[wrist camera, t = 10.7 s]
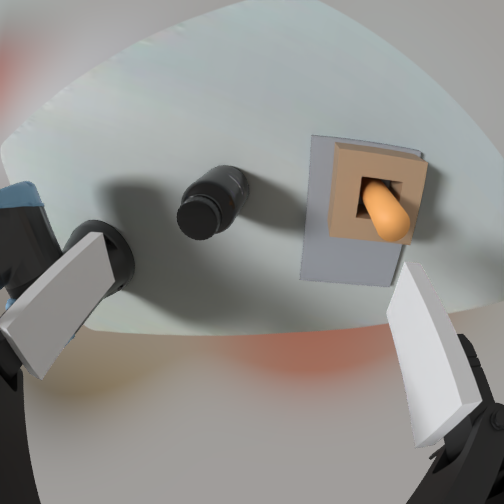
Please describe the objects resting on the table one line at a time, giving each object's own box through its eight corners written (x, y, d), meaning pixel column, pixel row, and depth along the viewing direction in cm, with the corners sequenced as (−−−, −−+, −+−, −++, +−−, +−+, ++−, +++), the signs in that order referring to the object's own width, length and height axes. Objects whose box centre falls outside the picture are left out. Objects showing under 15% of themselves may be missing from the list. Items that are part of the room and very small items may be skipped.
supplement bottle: (256, 174, 38) (237, 206, 28) (240, 215, 42) (217, 259, 32) (211, 156, 38) (175, 182, 28) (198, 198, 42) (162, 235, 32)
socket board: (299, 276, 46) (298, 300, 41) (311, 134, 34) (312, 141, 29) (388, 283, 43) (395, 307, 38) (418, 150, 32) (435, 160, 27)
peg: (355, 198, 36) (373, 239, 26) (359, 172, 35) (379, 205, 24) (380, 201, 36) (405, 243, 26) (384, 176, 34) (413, 210, 24)
